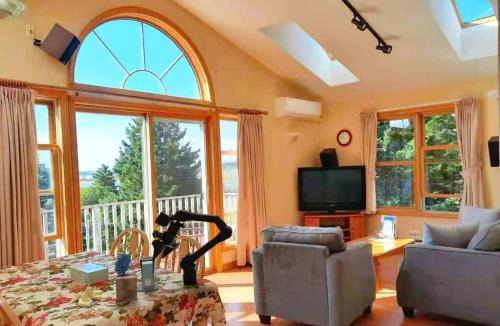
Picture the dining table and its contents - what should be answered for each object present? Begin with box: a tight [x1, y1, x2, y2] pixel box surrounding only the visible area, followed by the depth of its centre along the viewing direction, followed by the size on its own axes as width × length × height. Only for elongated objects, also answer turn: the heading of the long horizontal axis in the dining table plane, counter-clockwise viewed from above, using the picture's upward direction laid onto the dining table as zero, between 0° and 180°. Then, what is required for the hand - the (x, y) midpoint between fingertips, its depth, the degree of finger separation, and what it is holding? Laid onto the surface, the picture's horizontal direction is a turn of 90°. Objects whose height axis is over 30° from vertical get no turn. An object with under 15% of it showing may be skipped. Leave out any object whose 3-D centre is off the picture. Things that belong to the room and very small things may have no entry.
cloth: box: [66, 286, 111, 307], centre depth 182 cm, size 22×19×6 cm
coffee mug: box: [138, 255, 156, 277], centre depth 217 cm, size 12×9×10 cm
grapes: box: [113, 252, 132, 276], centre depth 222 cm, size 12×7×12 cm, turn 149°
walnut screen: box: [115, 275, 138, 302], centre depth 181 cm, size 9×2×10 cm, turn 95°
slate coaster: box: [137, 282, 159, 293], centre depth 196 cm, size 10×10×1 cm
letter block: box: [141, 261, 154, 288], centre depth 196 cm, size 5×5×12 cm
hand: (157, 258), depth 201 cm, fingers open, 9 cm apart
